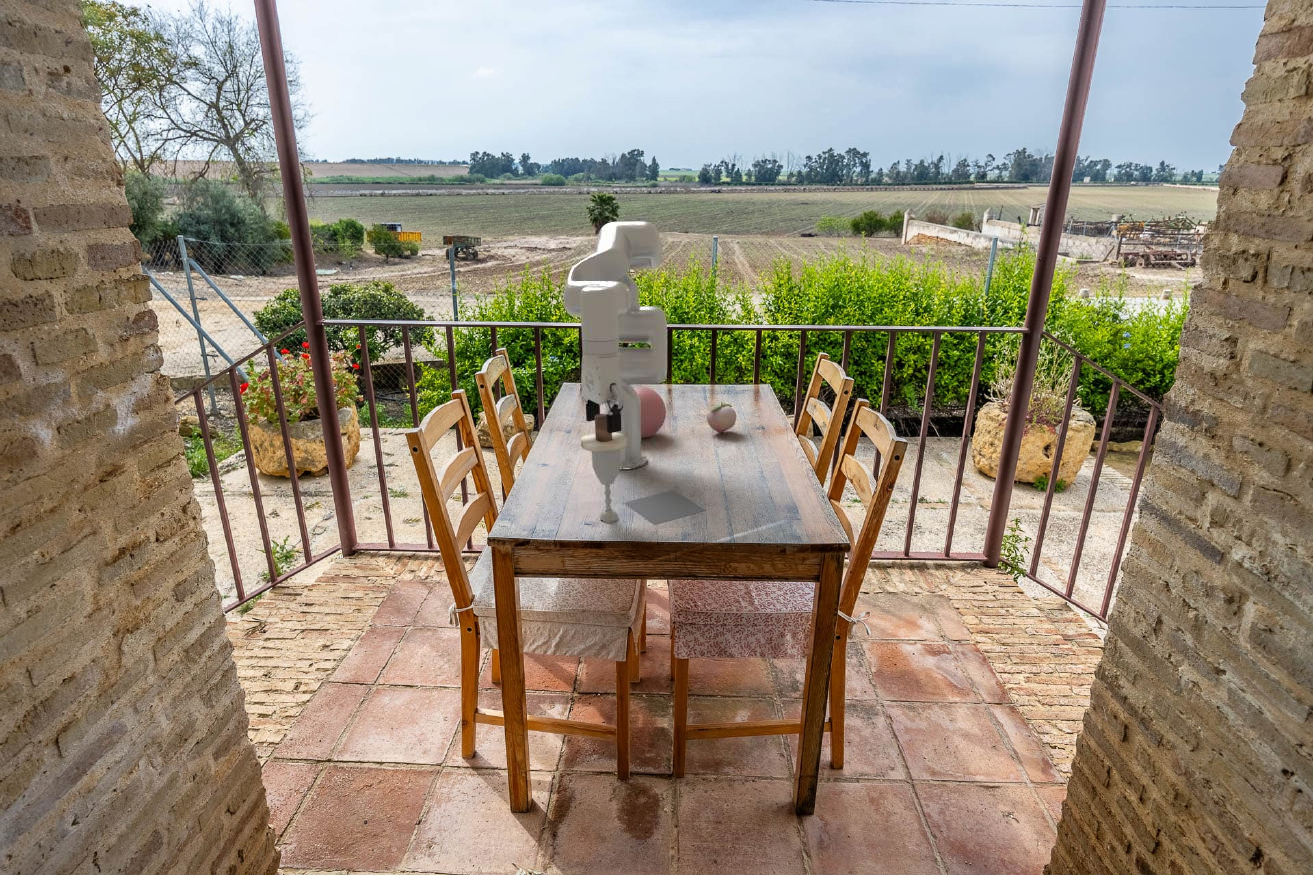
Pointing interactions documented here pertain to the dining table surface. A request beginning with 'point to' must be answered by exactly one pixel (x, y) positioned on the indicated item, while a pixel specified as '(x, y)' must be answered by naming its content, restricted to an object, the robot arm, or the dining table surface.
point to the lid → (603, 438)
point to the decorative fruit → (721, 417)
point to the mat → (664, 507)
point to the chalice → (607, 478)
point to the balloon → (650, 411)
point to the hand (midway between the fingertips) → (603, 425)
